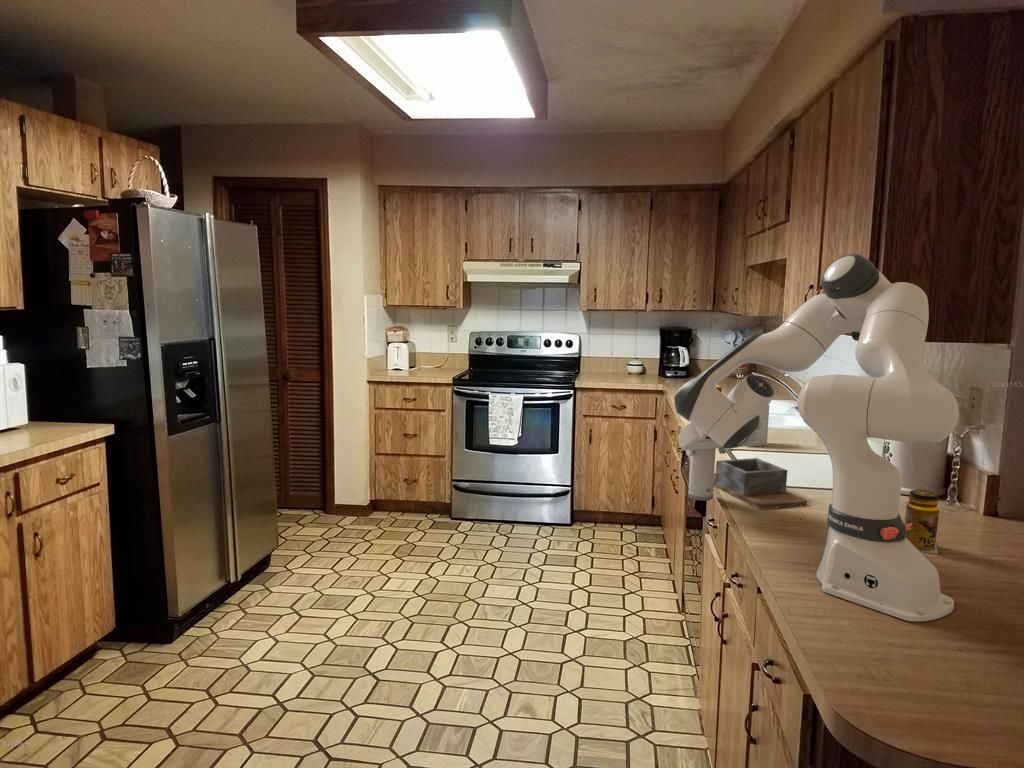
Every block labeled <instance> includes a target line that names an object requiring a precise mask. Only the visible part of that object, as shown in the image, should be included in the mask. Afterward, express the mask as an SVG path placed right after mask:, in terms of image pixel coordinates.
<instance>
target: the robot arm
mask: <svg viewBox="0 0 1024 768" xmlns="http://www.w3.org/2000/svg"><path fill="white" fill-rule="evenodd" d="M820 286H821V288H822V290H823V292H824V293H818V294H815V295H814V296H812V297H810V298H809V299H808V300H807V301H805V302H804V303H803V304H802V305H801V306H799V307H798V308H796V310H795V311H794V312H793V313H791V314H790V315H789V316H788V318H786V320H785V321H784V322H783V323H782V324H781V325H780V326H778V327H777V328H776V329H774V330H772V331H770V332H766V333H760V332H756V333H754V334H752V335H750V336H748V337H746V338H745V339H744V340H742V341H741V342H740V343H738V344H737V345H735V346H734V347H732V349H731V350H729V351H727V353H725V354H724V355H723V356H721V357H720V358H719V359H718V360H717V361H716V360H715V362H714V363H712V364H711V365H710V366H708V368H706V369H705V370H703V371H702V372H700V373H699V374H698V375H696V376H695V377H693V378H692V379H690V380H689V381H687V382H685V383H684V384H683V385H682V386H680V388H678V390H677V392H676V394H675V395H674V398H673V399H674V407H675V411H676V414H677V415H680V417H682V418H684V419H685V420H686V421H688V422H689V423H687V424H686V425H685V427H684V428H682V430H681V431H680V433H679V434H678V436H677V441H678V442H677V443H678V444H679V446H680V449H681V450H682V451H685V453H686V456H688V457H690V456H693V455H694V454H695V450H697V449H712V448H716V449H717V451H718V453H719V454H720V455H721V454H723V455H724V454H726V453H727V452H728V451H730V450H732V449H736V448H739V447H746V446H748V445H750V444H751V443H752V442H753V441H754V440H755V438H756V437H757V435H758V430H759V429H760V428H761V427H762V423H761V422H760V421H759V420H760V418H759V417H760V416H761V415H762V414H763V412H764V411H765V410H766V408H767V407H768V405H769V406H770V404H771V402H772V399H774V395H775V391H774V388H773V386H772V385H771V384H770V383H769V382H767V381H766V380H765V379H763V378H762V377H761V376H758V375H756V374H755V375H754V374H748V375H746V376H745V377H743V378H742V379H741V380H740V381H739V382H737V384H736V385H735V386H734V387H732V389H730V391H729V393H728V394H727V396H725V395H724V393H722V391H721V392H720V391H718V390H717V388H716V385H718V384H719V383H720V382H721V381H723V380H724V379H725V378H727V377H728V376H729V375H730V374H732V373H733V372H734V371H735V370H737V369H738V368H739V367H741V366H742V365H745V364H756V365H762V366H764V367H769V368H771V369H774V370H777V371H781V372H786V373H787V372H788V373H797V372H802V371H805V370H807V369H809V368H810V367H812V366H813V365H814V364H815V363H816V362H817V361H818V360H819V359H820V358H821V357H822V356H823V355H824V354H825V353H826V352H827V350H828V349H829V348H831V346H832V345H833V343H834V342H835V341H836V340H837V339H838V338H839V337H841V336H842V335H844V334H847V333H851V338H852V340H854V341H856V342H857V344H856V346H855V347H856V348H855V351H854V352H855V360H856V362H857V364H858V365H859V367H860V368H861V370H863V372H864V373H866V375H868V376H863V375H850V374H849V375H848V374H838V373H837V374H826V375H817V376H816V375H815V376H812V377H810V379H809V378H808V379H807V381H805V383H804V384H803V385H802V387H801V389H800V391H799V393H798V395H797V410H798V412H799V416H800V417H801V419H802V421H803V423H805V425H807V426H808V427H809V428H810V429H811V430H812V431H813V432H814V433H816V434H817V436H818V437H819V438H820V440H821V441H822V443H823V445H824V446H825V448H826V450H827V452H828V455H829V458H830V462H831V468H832V496H831V503H830V504H829V505H828V511H827V521H826V523H827V529H828V532H827V538H826V542H825V546H824V550H823V553H822V554H823V555H822V557H821V558H822V559H821V561H820V564H819V566H818V568H817V571H816V573H815V577H816V579H817V580H818V581H819V582H820V583H821V591H822V592H824V593H826V594H829V595H831V596H835V597H838V598H840V599H844V600H847V601H850V602H852V603H854V604H858V605H860V606H862V607H866V608H869V609H872V610H874V611H878V612H880V613H884V614H885V615H889V616H891V617H895V618H898V619H900V620H901V619H902V620H904V621H907V622H928V621H934V620H937V619H941V618H943V617H945V616H947V615H949V614H951V613H952V612H953V610H954V609H955V601H954V599H953V598H952V597H950V596H948V595H946V594H944V593H942V592H941V581H940V576H939V572H938V570H937V567H936V566H934V565H933V564H932V563H931V562H930V561H929V560H928V559H927V558H926V557H925V556H924V554H922V553H921V551H918V550H917V549H916V548H915V546H914V545H913V544H912V543H911V542H910V541H909V540H908V539H907V538H906V537H907V535H906V530H910V529H912V528H909V527H911V526H912V525H913V524H912V523H909V524H905V522H904V521H903V519H902V517H901V516H902V515H900V512H899V511H900V501H901V490H902V481H903V480H902V479H903V478H902V474H901V473H900V471H899V469H898V468H897V467H896V466H895V464H893V463H892V462H890V461H889V460H888V459H887V458H885V457H883V456H881V455H879V454H878V453H876V452H875V451H874V450H873V449H872V447H871V446H870V444H869V441H868V439H870V438H871V439H872V438H873V439H880V440H888V441H895V442H900V443H901V442H902V443H910V444H912V443H913V444H914V443H917V444H919V443H921V444H922V443H938V442H939V443H940V442H941V441H944V440H945V439H946V438H948V437H949V436H951V434H952V433H953V431H954V430H955V428H956V426H957V425H958V422H959V417H960V415H959V414H960V413H959V412H960V410H959V409H960V408H959V405H958V402H957V399H956V397H955V396H954V394H953V393H952V392H951V391H950V389H948V388H947V387H946V386H944V385H942V384H941V383H939V382H938V381H936V380H935V379H934V378H932V376H931V375H929V373H928V372H927V370H926V368H925V366H924V363H923V355H924V346H925V341H926V338H927V337H926V336H927V333H928V332H927V331H928V328H929V327H928V326H929V317H930V316H929V315H930V314H929V312H930V309H929V299H928V296H927V294H926V292H925V291H924V290H923V289H922V288H921V287H919V286H918V285H916V284H914V283H910V282H904V281H899V282H898V281H897V282H893V283H891V282H890V281H889V280H888V279H887V277H886V276H885V275H884V274H883V273H882V272H881V271H879V269H878V268H876V266H875V264H874V263H873V262H872V261H870V260H869V259H868V258H866V257H865V256H862V255H861V254H857V253H853V254H852V253H850V254H845V255H843V256H840V257H838V258H837V259H835V260H834V261H832V262H831V263H830V264H829V265H828V266H826V268H825V269H824V271H823V273H822V275H821V278H820Z"/></svg>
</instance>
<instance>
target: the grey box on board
mask: <svg viewBox="0 0 1024 768" xmlns="http://www.w3.org/2000/svg"><path fill="white" fill-rule="evenodd" d="M715 463H716V464H715V465H716V467H715V472H714V486H713V488H714V487H715V488H717V489H719V490H721V491H722V492H725V493H726V494H728V495H730V496H732V497H734V496H735V497H734V498H736V497H737V498H736V499H738V498H739V499H738V500H740V499H741V500H740V501H742V500H743V501H742V502H744V501H746V502H748V503H750V504H751V505H750V504H749V505H750V506H752V505H754V506H756V507H757V508H756V507H755V508H756V509H758V508H759V509H758V510H762V509H761V508H770V509H777V508H776V507H781V508H789V507H788V506H792V507H800V505H803V506H807V504H808V501H807V500H806V499H804V498H802V497H800V496H798V495H795V494H793V493H791V492H788V491H787V481H788V470H787V469H785V468H783V467H780V466H778V465H775V464H773V463H770V462H768V461H765V460H762V459H760V458H757V457H752V458H741V459H739V458H738V459H727V460H725V459H724V460H716V461H715ZM746 502H745V503H746ZM748 503H747V504H748ZM754 506H753V507H754ZM774 507H775V508H774Z"/></svg>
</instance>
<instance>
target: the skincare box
mask: <svg viewBox="0 0 1024 768" xmlns="http://www.w3.org/2000/svg"><path fill="white" fill-rule="evenodd" d="M769 416H770V404H769V405H768V407H767V408H766V410H765V411H764V412H763V414H762V415H761V416H760V417H759V418H760V420H759V421H760V422H761V423H762V427H761V428H760V429H759V430H758V435H757V437H756V438H755V440H754V441H753V442H752V443H751V444H750V445H748V446H745V447H747V448H748V447H750V448H751V447H763V446H768V435H769V420H770V419H769Z"/></svg>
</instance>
